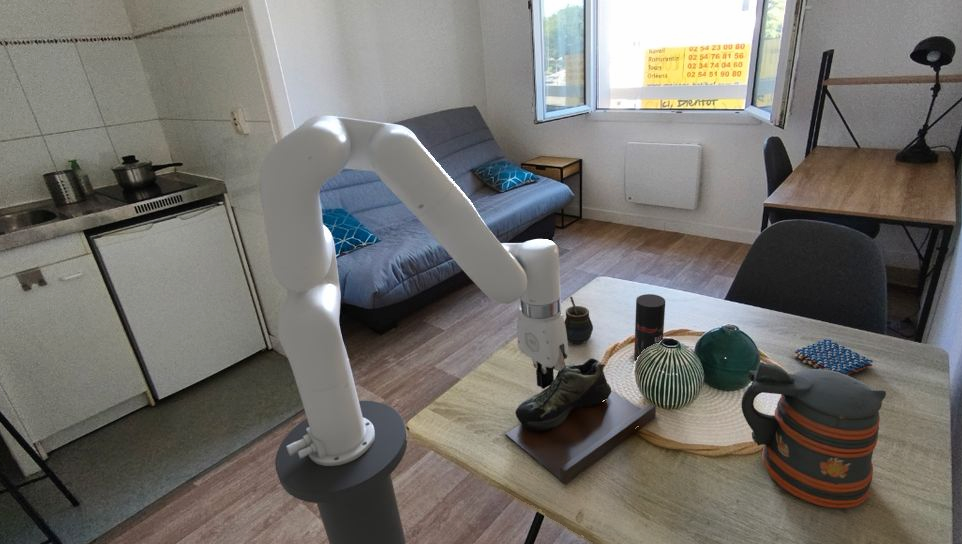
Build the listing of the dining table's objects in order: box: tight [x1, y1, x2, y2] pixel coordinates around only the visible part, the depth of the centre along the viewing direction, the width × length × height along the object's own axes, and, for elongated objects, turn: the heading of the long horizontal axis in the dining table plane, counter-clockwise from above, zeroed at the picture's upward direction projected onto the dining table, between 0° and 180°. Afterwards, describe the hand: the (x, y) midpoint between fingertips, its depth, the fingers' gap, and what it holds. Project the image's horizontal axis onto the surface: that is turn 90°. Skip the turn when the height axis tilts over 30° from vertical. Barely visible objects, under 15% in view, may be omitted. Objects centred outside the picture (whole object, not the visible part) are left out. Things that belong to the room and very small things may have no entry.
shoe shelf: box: [505, 391, 657, 486], centre depth 95 cm, size 24×16×3 cm, turn 127°
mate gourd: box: [564, 296, 594, 345], centre depth 122 cm, size 7×8×10 cm
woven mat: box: [793, 338, 874, 376], centre depth 106 cm, size 10×11×2 cm
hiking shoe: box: [514, 358, 612, 432], centre depth 99 cm, size 8×21×9 cm, turn 120°
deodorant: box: [633, 293, 666, 362], centre depth 110 cm, size 6×6×15 cm
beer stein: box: [741, 361, 887, 510], centre depth 78 cm, size 19×15×20 cm
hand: (545, 384), depth 102 cm, fingers closed
